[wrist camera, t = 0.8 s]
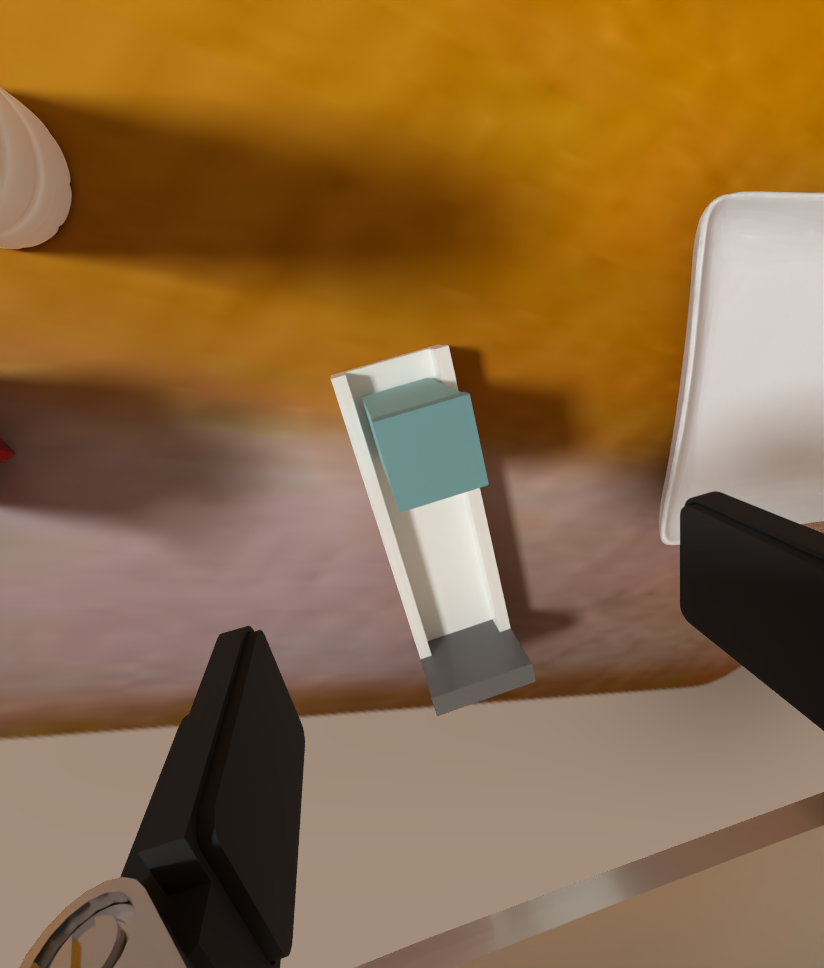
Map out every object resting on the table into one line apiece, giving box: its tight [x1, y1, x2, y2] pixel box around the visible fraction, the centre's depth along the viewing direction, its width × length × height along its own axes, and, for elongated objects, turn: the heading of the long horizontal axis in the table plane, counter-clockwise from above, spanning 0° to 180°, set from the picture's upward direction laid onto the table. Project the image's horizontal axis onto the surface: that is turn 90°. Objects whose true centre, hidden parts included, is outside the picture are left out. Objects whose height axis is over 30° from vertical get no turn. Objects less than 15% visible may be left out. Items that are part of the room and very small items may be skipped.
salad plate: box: [659, 191, 824, 545], centre depth 30 cm, size 21×21×3 cm
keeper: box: [362, 378, 489, 513], centre depth 22 cm, size 4×4×8 cm
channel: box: [331, 345, 536, 716], centre depth 27 cm, size 7×21×6 cm, turn 15°
